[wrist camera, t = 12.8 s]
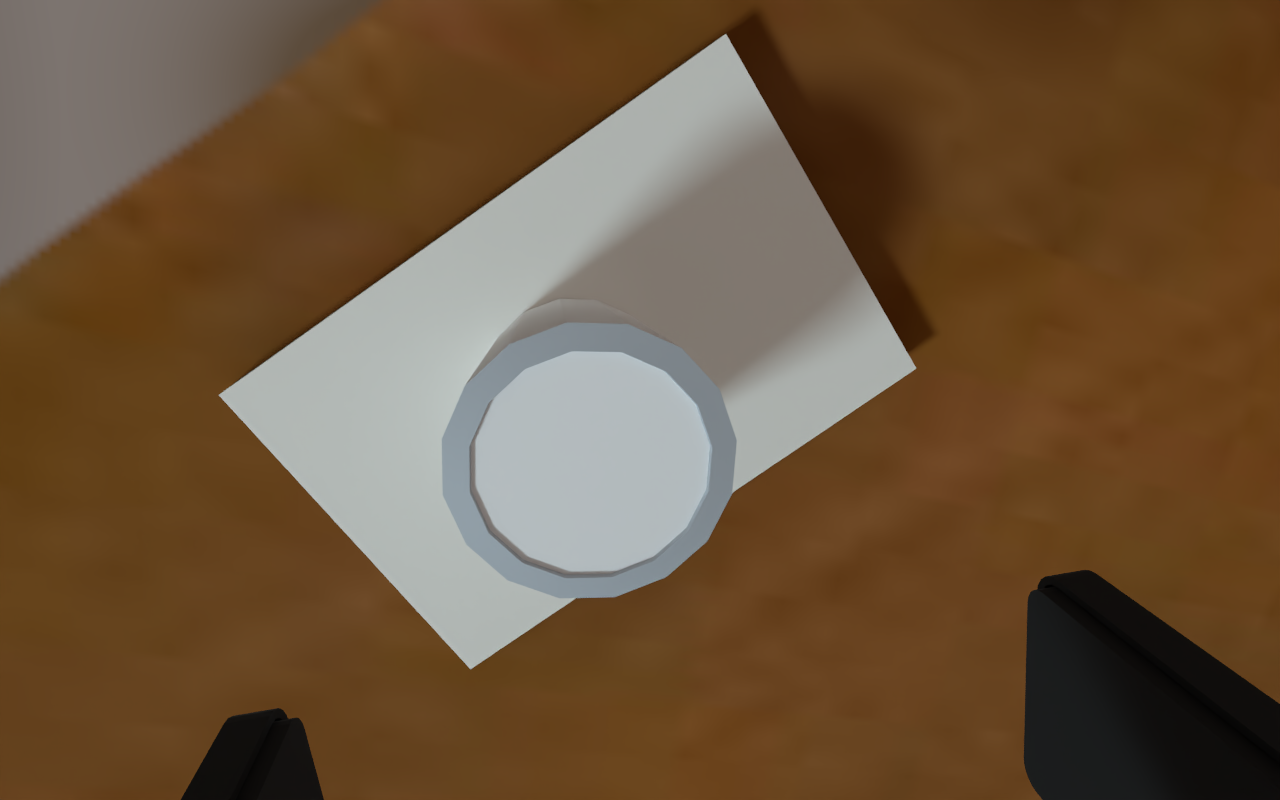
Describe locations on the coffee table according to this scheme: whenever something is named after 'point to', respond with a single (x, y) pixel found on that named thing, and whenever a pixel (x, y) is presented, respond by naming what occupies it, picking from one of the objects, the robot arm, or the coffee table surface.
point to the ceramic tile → (581, 269)
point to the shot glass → (587, 453)
